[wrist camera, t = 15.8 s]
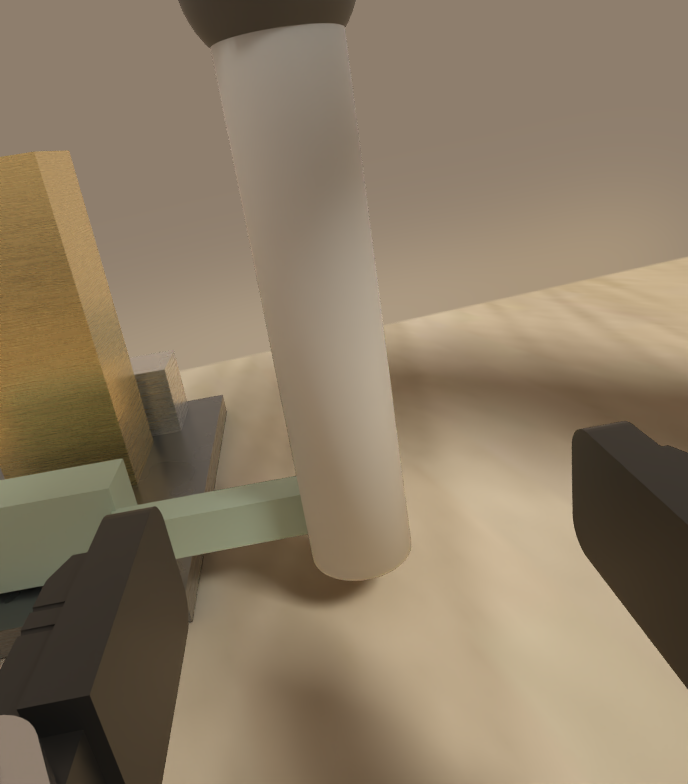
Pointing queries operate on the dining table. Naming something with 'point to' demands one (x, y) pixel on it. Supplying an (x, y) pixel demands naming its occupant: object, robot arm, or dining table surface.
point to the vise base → (155, 468)
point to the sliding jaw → (273, 323)
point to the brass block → (59, 331)
